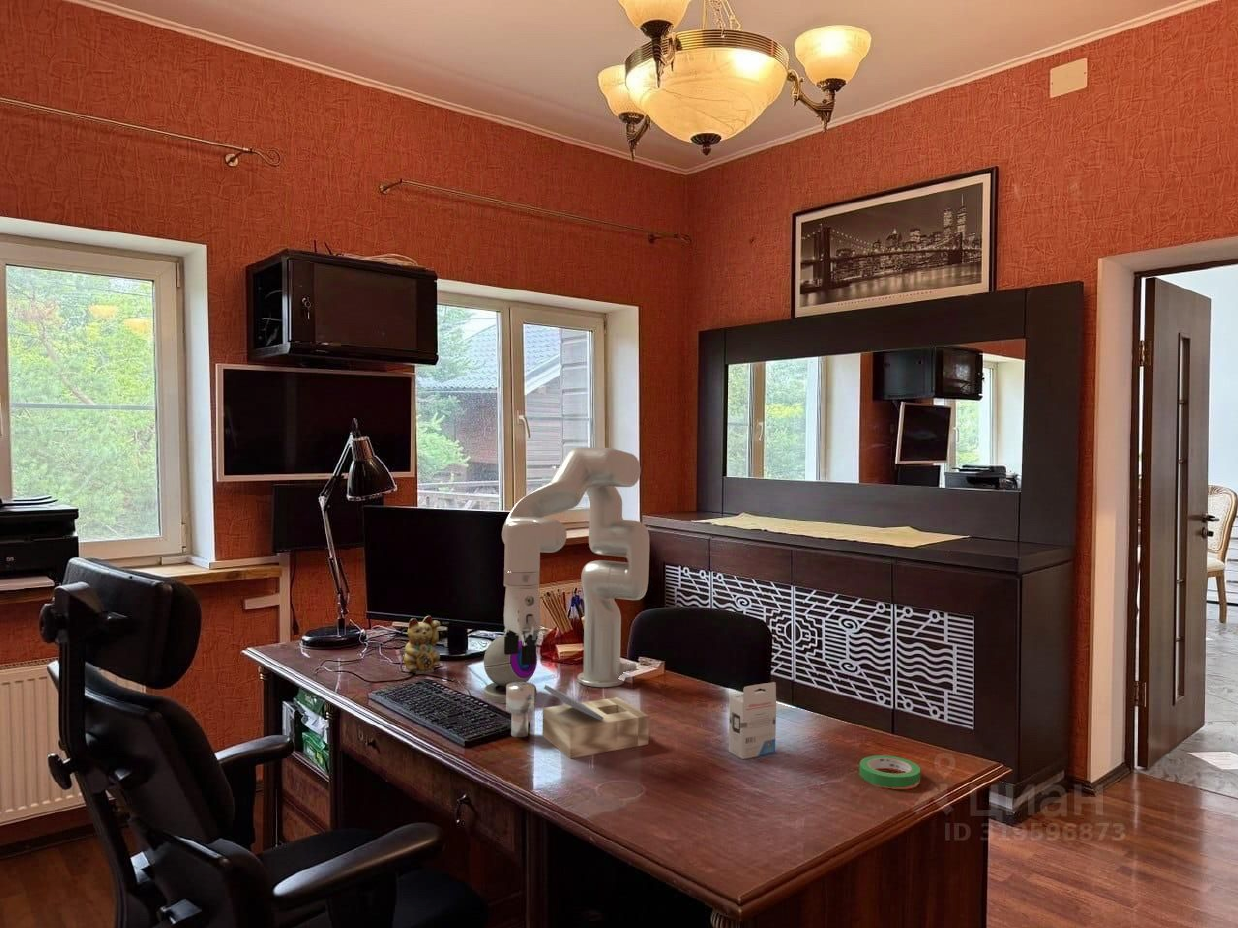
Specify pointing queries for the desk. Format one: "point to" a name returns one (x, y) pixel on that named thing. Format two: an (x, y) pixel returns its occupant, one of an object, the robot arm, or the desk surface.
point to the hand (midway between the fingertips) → (519, 658)
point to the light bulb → (519, 706)
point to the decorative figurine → (422, 646)
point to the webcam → (504, 670)
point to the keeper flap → (573, 703)
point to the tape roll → (889, 779)
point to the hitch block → (595, 727)
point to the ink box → (753, 721)
